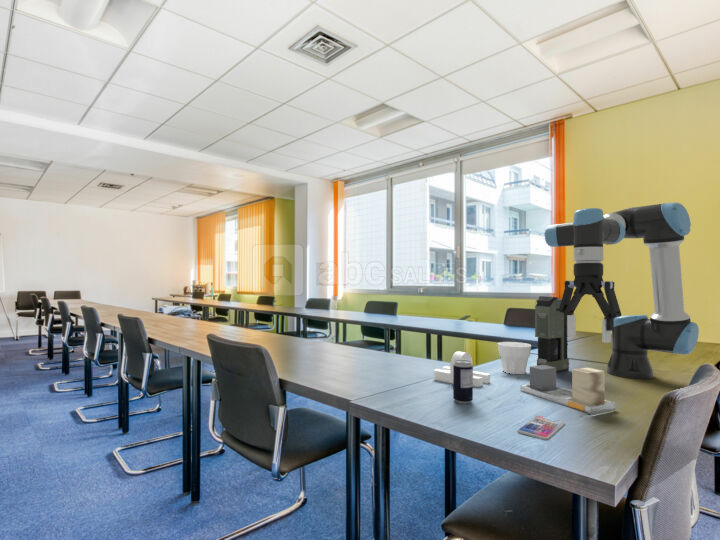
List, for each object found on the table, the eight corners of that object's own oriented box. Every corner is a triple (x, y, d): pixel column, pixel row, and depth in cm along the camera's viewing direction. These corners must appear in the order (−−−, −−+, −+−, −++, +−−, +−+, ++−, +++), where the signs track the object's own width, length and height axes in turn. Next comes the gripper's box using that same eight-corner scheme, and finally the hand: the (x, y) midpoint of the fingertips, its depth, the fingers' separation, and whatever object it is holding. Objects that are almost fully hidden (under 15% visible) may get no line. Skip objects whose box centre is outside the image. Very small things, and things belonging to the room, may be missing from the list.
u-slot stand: (446, 375, 155) (446, 347, 155) (491, 384, 143) (491, 353, 143) (432, 380, 148) (432, 350, 148) (478, 389, 136) (478, 357, 136)
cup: (492, 368, 166) (492, 341, 166) (521, 368, 167) (521, 341, 168) (506, 376, 154) (506, 347, 154) (537, 375, 155) (537, 346, 155)
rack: (543, 388, 137) (543, 382, 137) (614, 410, 115) (614, 402, 115) (519, 392, 132) (519, 385, 132) (589, 415, 110) (589, 407, 110)
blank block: (544, 389, 134) (544, 364, 134) (556, 392, 130) (556, 367, 130) (529, 391, 131) (529, 366, 131) (541, 395, 127) (541, 369, 127)
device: (550, 375, 155) (550, 297, 156) (532, 371, 162) (532, 296, 162) (570, 370, 163) (570, 296, 164) (552, 367, 170) (552, 295, 170)
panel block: (588, 401, 120) (588, 367, 120) (604, 406, 116) (604, 371, 116) (572, 404, 117) (572, 369, 117) (588, 409, 113) (588, 373, 113)
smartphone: (566, 421, 104) (547, 438, 93) (566, 425, 104) (547, 442, 93) (536, 414, 109) (515, 429, 98) (536, 418, 109) (515, 433, 98)
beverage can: (473, 399, 124) (473, 360, 124) (472, 405, 118) (472, 364, 118) (454, 397, 125) (454, 359, 126) (452, 403, 120) (452, 362, 120)
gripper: (546, 263, 126) (545, 334, 125) (619, 260, 105) (619, 346, 105) (562, 263, 129) (562, 333, 129) (637, 261, 108) (637, 344, 108)
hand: (588, 339), depth 117 cm, fingers open, 10 cm apart
